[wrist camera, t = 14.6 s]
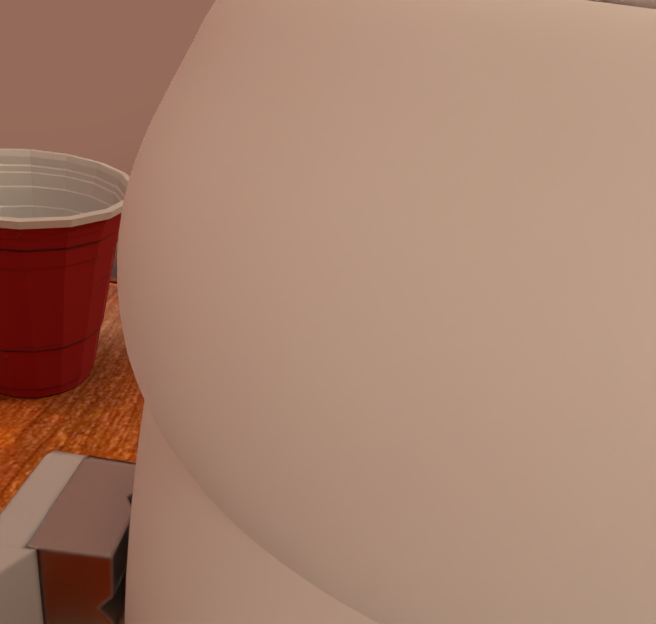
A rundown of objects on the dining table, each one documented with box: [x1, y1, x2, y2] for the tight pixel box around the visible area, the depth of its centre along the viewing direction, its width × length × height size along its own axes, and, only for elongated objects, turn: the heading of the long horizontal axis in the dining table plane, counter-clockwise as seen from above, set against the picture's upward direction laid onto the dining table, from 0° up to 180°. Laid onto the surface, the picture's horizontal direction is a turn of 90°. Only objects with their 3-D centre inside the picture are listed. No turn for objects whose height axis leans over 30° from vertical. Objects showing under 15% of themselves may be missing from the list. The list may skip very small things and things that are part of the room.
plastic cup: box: [0, 148, 130, 398], centre depth 30 cm, size 11×11×12 cm
